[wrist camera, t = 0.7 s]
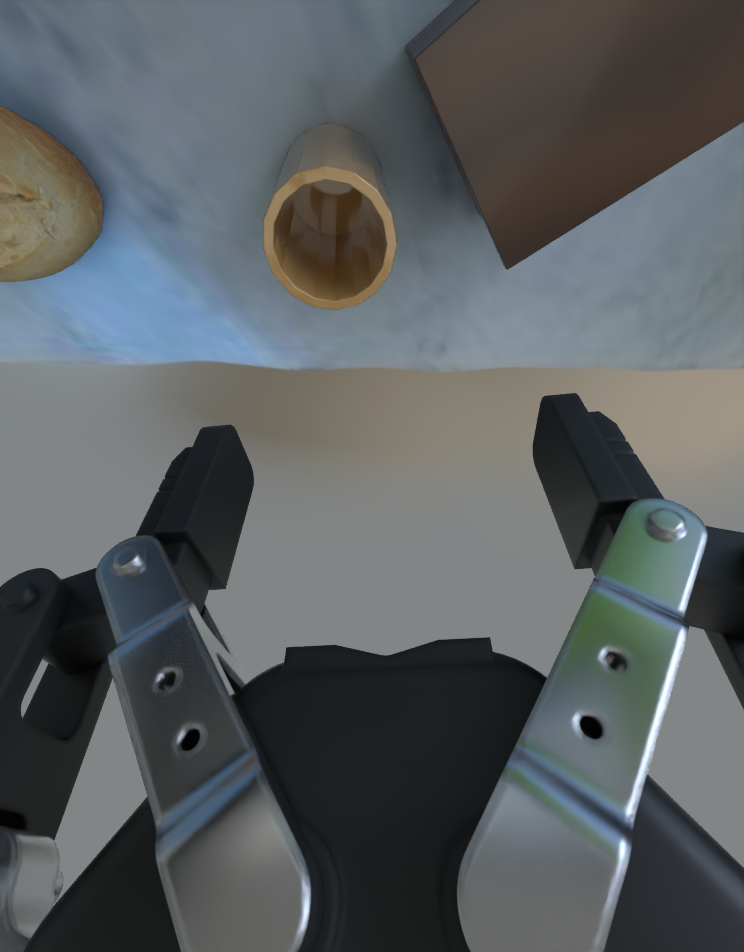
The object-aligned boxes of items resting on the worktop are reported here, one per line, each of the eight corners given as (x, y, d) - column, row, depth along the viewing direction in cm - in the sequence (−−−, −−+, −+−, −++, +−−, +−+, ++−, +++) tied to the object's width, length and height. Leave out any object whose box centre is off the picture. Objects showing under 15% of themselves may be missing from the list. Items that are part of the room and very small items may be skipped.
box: (396, 44, 23) (413, 59, 18) (696, -236, 18) (855, -341, 12) (477, 223, 30) (508, 273, 25) (714, 60, 24) (822, 78, 19)
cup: (260, 171, 27) (234, 229, 20) (342, 94, 25) (343, 131, 18) (325, 259, 31) (320, 330, 24) (401, 200, 29) (419, 262, 22)
